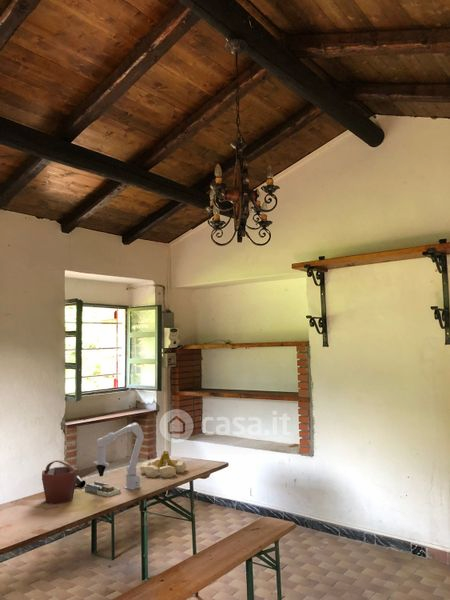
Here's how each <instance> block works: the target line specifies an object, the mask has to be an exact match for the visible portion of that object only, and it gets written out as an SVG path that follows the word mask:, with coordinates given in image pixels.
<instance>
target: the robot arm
mask: <svg viewBox="0 0 450 600" xmlns="http://www.w3.org/2000/svg"><path fill="white" fill-rule="evenodd" d="M125 433H133V434H134V435H135V436H136V439H135V443H134V446H133V449H132V454H131V456H130V457H131V458H130V460H129V461H128V462H129V463H128V464H127V465H126V473H125V477H126V478H125V481H126V483H125V484H126V485H125V486H123V489H126V490H127V489H128V490H131V491H133V490H136V489H139V488H141V487H142V486H141V479H140V478H141V477H140V476H139V475H138V474H137V465H138V461H139V460H138V459H139V455H140V452H141V448H142V445H143V441H144V436H145V435H144V433H143V429H142V427H141V425H140V424H139V423H138V422H132V423H129V424H128V425H127V426H124V427H123V428H121V429H119V430H117V431H115V432H108V433H107V434H106V435H104V436H101V437H100V438H97V440H96V460H94V461H93V465H96V466H95V467H96V469H97V471H98V476H99V477H103V476H104V473H105V470H106V468H108V467H110V463H109V462H106V445H108V444H109V443H112V442H114V441H115V440H116V439H117V437H120V436H121V435H124V434H125Z"/></svg>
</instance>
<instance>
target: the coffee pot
mask: <svg viewBox="0 0 450 600" xmlns="http://www.w3.org/2000/svg"><path fill="white" fill-rule="evenodd" d="M86 484H87V482H86V480H83V479H82V478H81V476H80V475H78V474H77V480H76V485H75V488H76V487H79V488H81V487H82V488H85V486H86Z"/></svg>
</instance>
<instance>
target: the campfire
mask: <svg viewBox="0 0 450 600" xmlns="http://www.w3.org/2000/svg"><path fill="white" fill-rule="evenodd" d="M187 467H188V466H187V464H186V462H185V461H180V459H179V458H170V454H169V451H168V450H164V451H163V452H162V453H161V454H160V457H159V458H155V459H153V460H152V461H150V462H148V461H147V462H143V463H142V464H141V466H140V468H139V470H140V472H141V474H142V475H143V474H144V475H145V476H146V477H147V478H155V477H159V475H160V476H161V477H162V478H173V477H174V476H175V475H177V473H178V474H180V473H181V474H182V473H184V472H185V471H186V468H187Z"/></svg>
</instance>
